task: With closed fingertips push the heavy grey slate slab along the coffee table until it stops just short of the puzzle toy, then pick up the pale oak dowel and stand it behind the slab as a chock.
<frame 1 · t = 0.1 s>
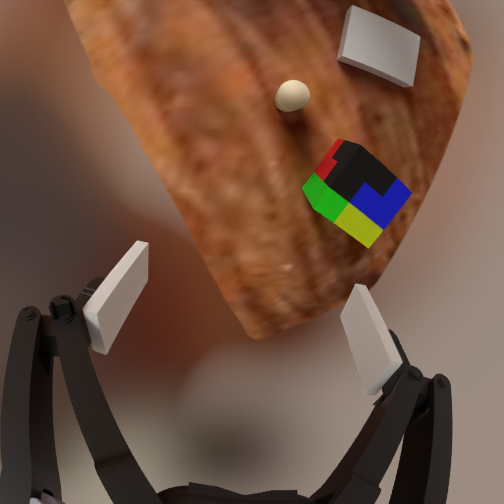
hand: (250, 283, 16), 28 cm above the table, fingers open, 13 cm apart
dowel: (285, 100, 35), on the table
slab: (375, 48, 30), on the table
puzzle toy: (343, 181, 41), on the table
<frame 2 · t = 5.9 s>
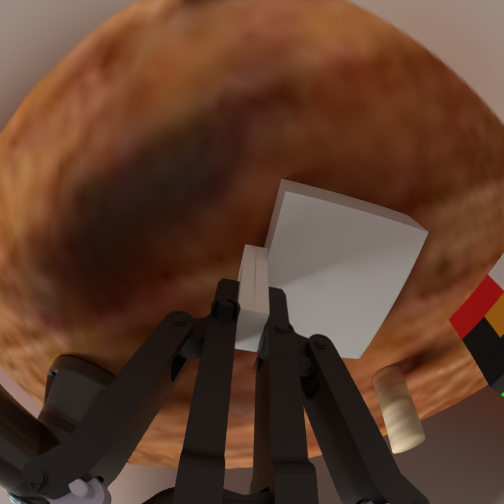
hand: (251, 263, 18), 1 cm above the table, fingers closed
dowel: (386, 374, 27), on the table
slab: (324, 268, 21), on the table, touching gripper
puzzle toy: (488, 302, 22), on the table
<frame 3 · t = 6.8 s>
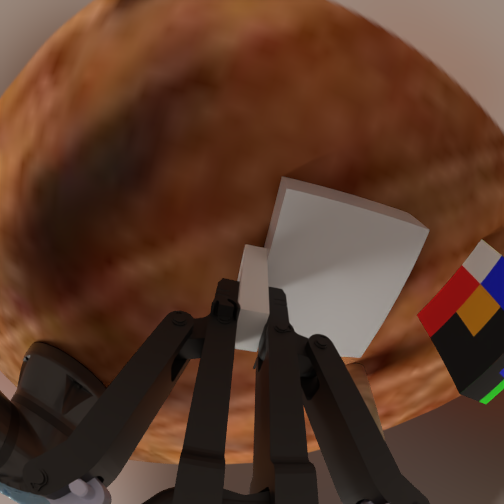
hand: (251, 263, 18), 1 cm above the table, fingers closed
dowel: (349, 373, 26), on the table
slab: (325, 266, 20), on the table, touching gripper
puzzle toy: (466, 297, 22), on the table
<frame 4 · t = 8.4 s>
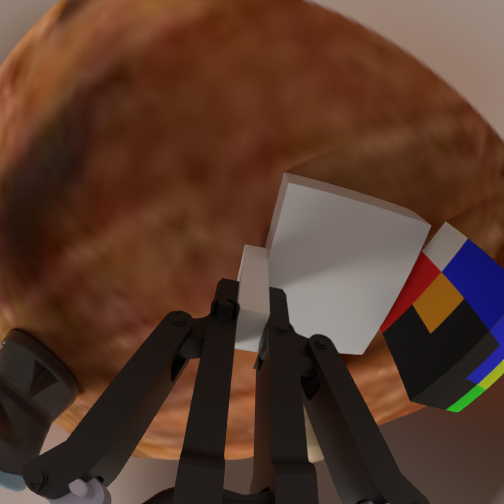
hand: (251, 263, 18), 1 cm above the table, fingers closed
dowel: (300, 369, 26), on the table
slab: (326, 263, 20), on the table
puzzle toy: (434, 289, 21), on the table
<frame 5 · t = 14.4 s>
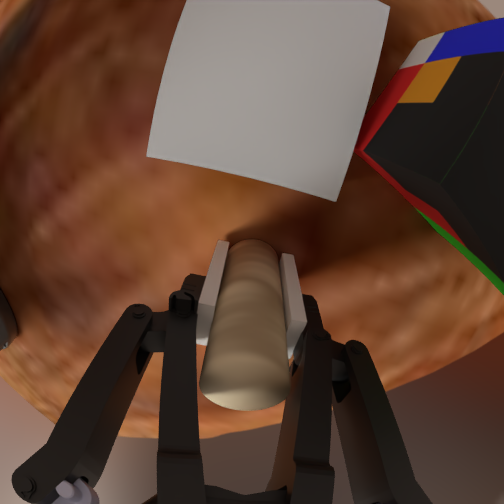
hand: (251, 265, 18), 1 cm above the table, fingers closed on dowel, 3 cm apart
dowel: (251, 263, 19), on the table, touching gripper
slab: (269, 72, 13), on the table
puzzle toy: (434, 137, 14), on the table
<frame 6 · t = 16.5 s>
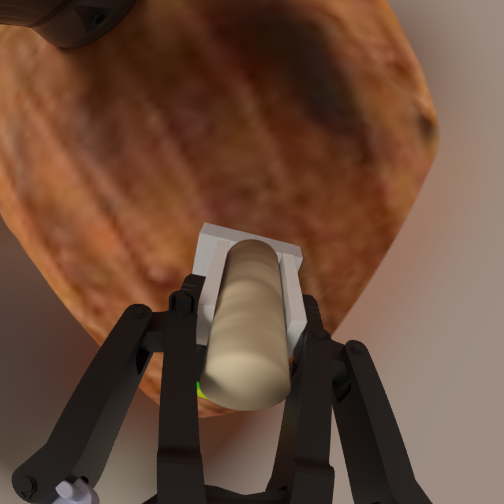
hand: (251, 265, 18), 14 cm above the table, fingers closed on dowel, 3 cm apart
dowel: (251, 263, 19), point 14 cm above the table, touching gripper
slab: (243, 266, 36), on the table
puzzle toy: (227, 330, 41), on the table
when the fingers open (2 cm above the table, at t = 19.0 s): dowel stays where it is, on the table.
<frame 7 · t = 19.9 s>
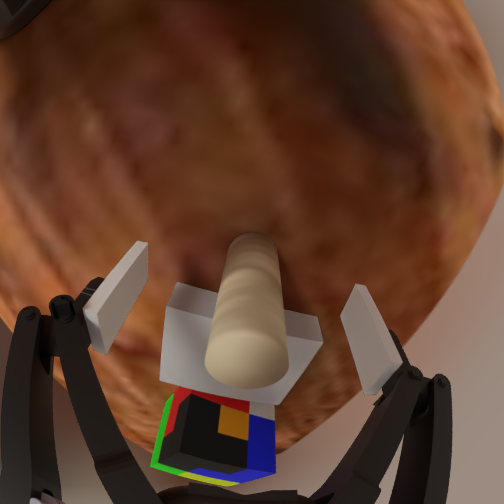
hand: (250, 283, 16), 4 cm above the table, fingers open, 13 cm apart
dowel: (252, 255, 20), on the table
slab: (234, 338, 24), on the table
puzzle toy: (216, 400, 30), on the table
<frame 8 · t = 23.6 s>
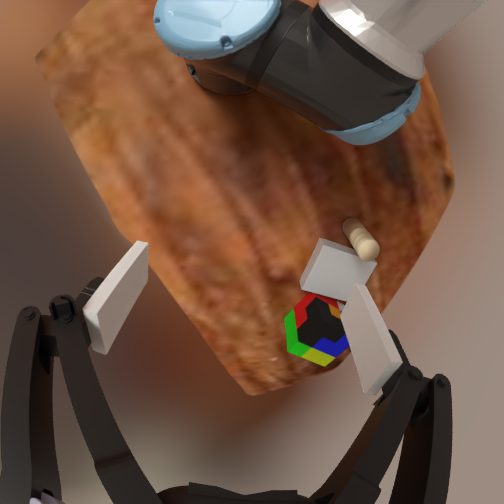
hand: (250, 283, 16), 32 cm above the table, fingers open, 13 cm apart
dowel: (351, 226, 48), on the table
slab: (335, 267, 53), on the table
puzzle toy: (315, 311, 58), on the table
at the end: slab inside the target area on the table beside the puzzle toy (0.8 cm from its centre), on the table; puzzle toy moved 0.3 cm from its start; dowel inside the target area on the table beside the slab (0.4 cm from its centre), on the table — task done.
